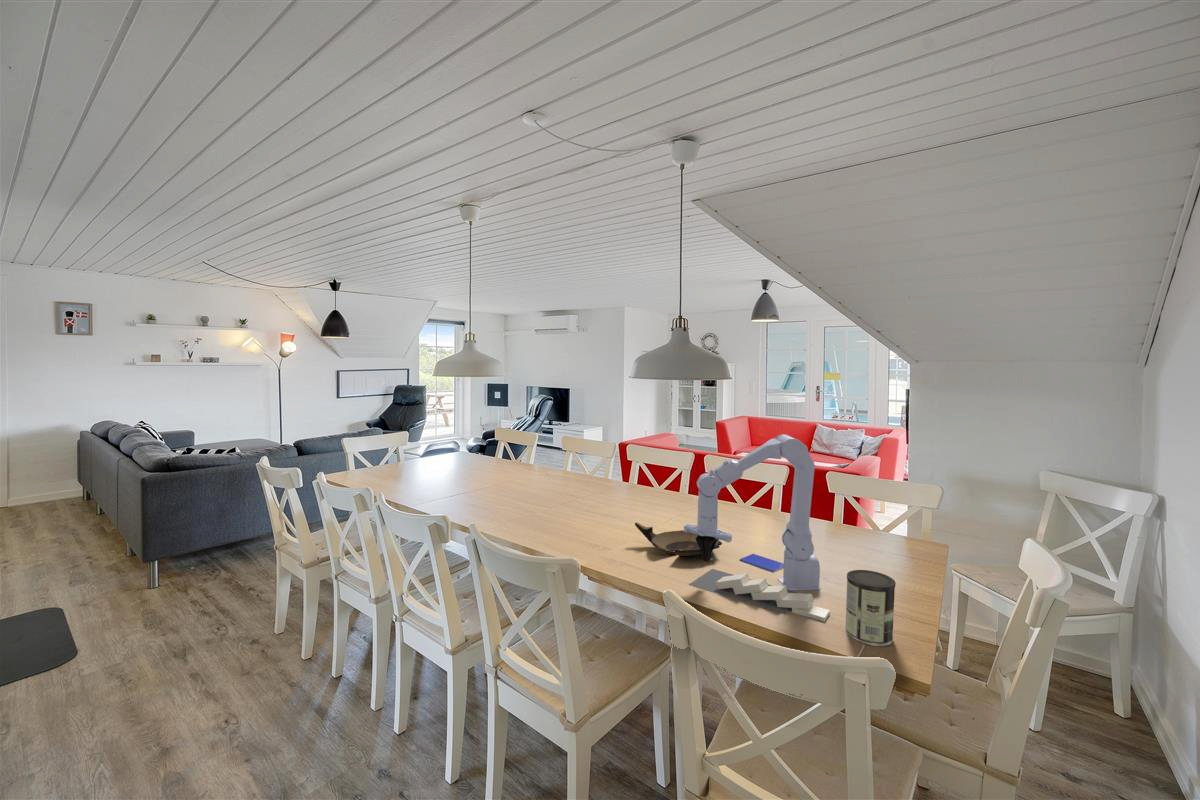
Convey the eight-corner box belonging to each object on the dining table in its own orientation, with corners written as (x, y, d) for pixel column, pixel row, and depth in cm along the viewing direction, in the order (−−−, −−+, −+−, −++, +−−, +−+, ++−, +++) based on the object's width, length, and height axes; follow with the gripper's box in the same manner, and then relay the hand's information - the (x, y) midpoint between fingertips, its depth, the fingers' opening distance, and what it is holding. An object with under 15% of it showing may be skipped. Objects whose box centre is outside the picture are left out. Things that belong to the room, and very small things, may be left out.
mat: (803, 595, 144) (803, 594, 144) (784, 616, 132) (784, 614, 132) (712, 569, 162) (712, 568, 162) (688, 585, 150) (688, 584, 150)
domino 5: (797, 608, 138) (829, 617, 133) (791, 615, 134) (824, 625, 129) (798, 601, 138) (829, 610, 133) (792, 608, 134) (824, 617, 129)
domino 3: (760, 593, 144) (787, 592, 139) (753, 600, 140) (781, 599, 135) (758, 586, 144) (785, 585, 139) (751, 592, 141) (779, 591, 136)
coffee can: (874, 623, 129) (877, 568, 128) (903, 645, 119) (905, 586, 118) (835, 625, 128) (838, 570, 127) (860, 648, 118) (863, 588, 117)
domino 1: (725, 583, 151) (750, 580, 146) (717, 589, 147) (742, 586, 142) (723, 576, 151) (747, 573, 146) (715, 582, 147) (740, 578, 142)
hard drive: (787, 564, 164) (753, 553, 174) (773, 570, 159) (739, 558, 168) (787, 568, 164) (753, 557, 174) (773, 575, 159) (739, 563, 169)
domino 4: (783, 600, 140) (813, 601, 136) (777, 607, 136) (808, 608, 132) (781, 592, 140) (811, 593, 136) (776, 599, 136) (807, 600, 132)
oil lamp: (692, 572, 160) (692, 548, 160) (625, 545, 183) (625, 524, 182) (734, 555, 175) (734, 532, 174) (667, 532, 197) (668, 513, 197)
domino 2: (742, 588, 147) (768, 585, 143) (735, 594, 144) (761, 591, 139) (740, 581, 148) (765, 578, 143) (732, 587, 144) (758, 584, 139)
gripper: (678, 513, 152) (678, 558, 153) (724, 523, 143) (723, 571, 144) (690, 508, 157) (689, 551, 158) (735, 517, 148) (734, 563, 149)
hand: (706, 560), depth 151 cm, fingers closed
